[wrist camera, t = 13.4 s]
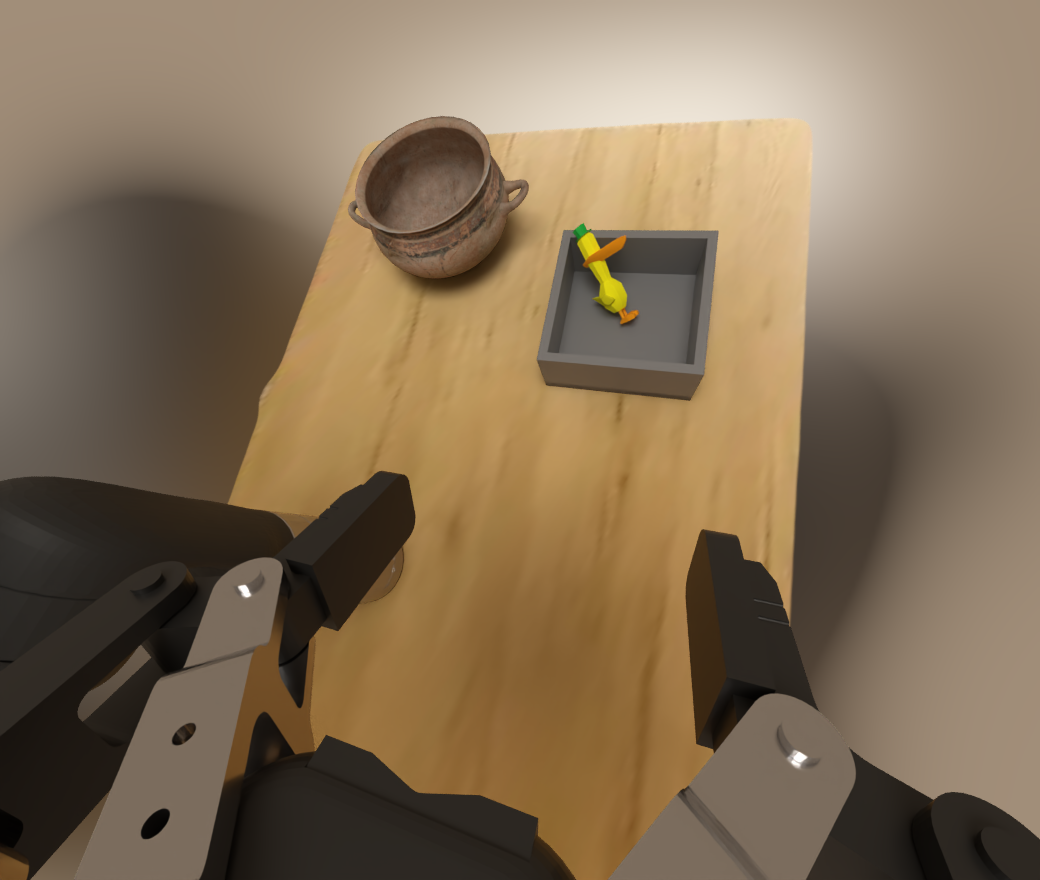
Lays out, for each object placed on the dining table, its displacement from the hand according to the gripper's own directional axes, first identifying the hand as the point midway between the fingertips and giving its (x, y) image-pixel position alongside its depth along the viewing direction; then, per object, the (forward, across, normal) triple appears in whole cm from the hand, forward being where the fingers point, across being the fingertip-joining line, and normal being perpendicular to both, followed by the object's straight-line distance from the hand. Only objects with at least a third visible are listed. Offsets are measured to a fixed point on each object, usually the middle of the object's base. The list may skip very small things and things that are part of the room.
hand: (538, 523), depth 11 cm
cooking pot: (+52, +26, -3) cm, 58 cm away
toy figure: (+42, -1, +4) cm, 42 cm away
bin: (+43, 0, +6) cm, 44 cm away
